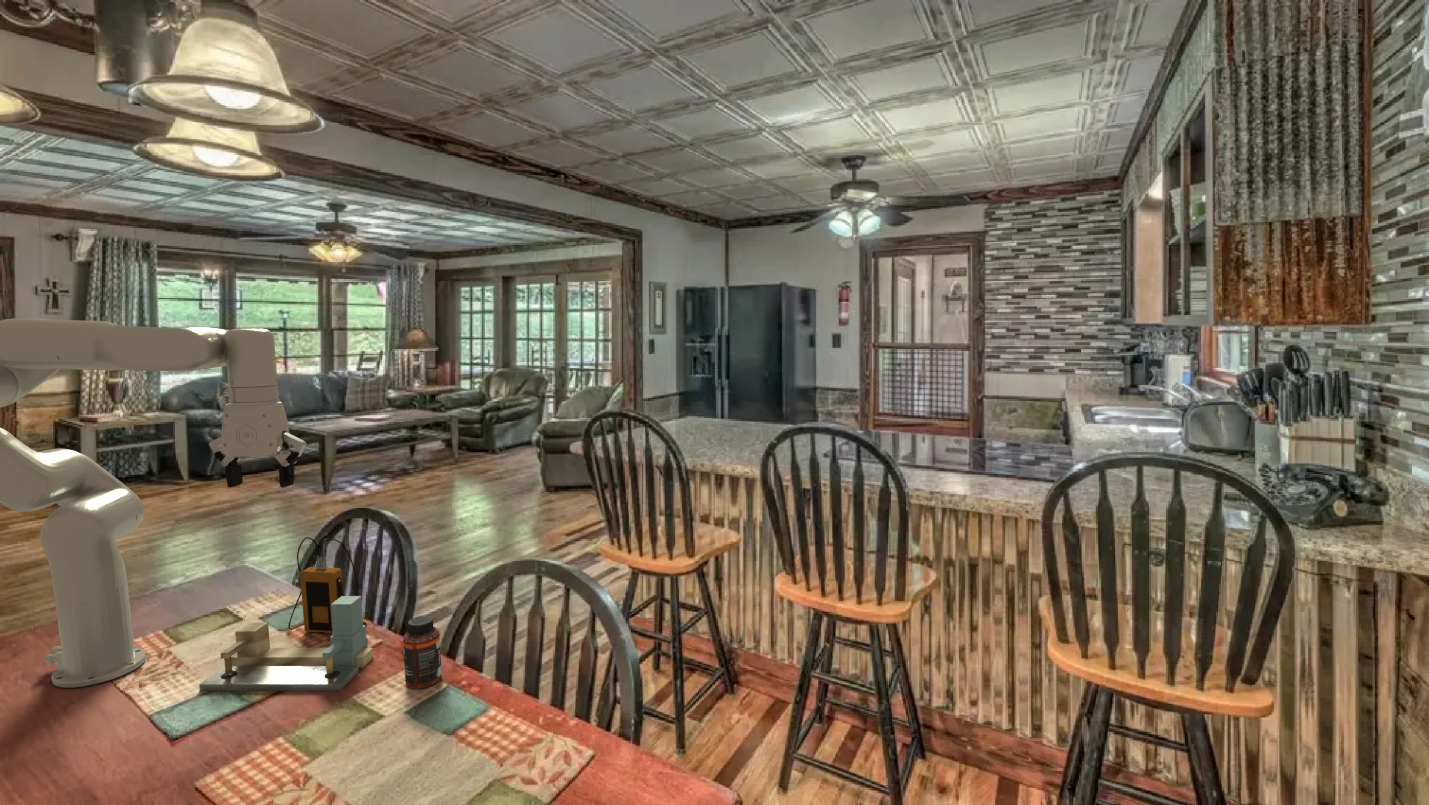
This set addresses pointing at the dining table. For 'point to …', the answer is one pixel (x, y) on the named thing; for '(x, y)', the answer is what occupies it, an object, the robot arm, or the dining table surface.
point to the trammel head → (345, 632)
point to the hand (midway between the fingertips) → (261, 485)
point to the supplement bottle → (422, 653)
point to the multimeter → (320, 593)
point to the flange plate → (280, 678)
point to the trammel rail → (275, 651)
